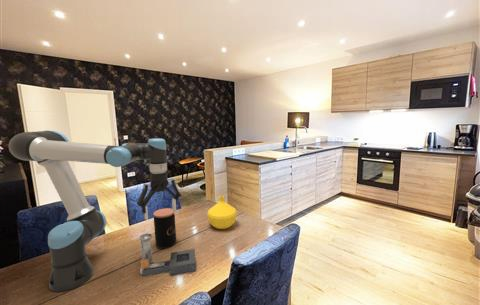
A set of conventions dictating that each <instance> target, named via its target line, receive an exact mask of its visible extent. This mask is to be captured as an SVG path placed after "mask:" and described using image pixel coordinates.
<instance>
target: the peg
mask: <svg viewBox="0 0 480 305" xmlns="http://www.w3.org/2000/svg"><path fill="white" fill-rule="evenodd" d="M151 239H152V234H151V233H149V232H148V233H143V234H141V235H140V236H139V241H140V244H141V253H142V254H141V255H142V259H148V258H149V262H150V264H151V263H154V261H153V254H152V253H153V252H152V243H151Z"/></svg>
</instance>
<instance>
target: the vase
mask: <svg viewBox="0 0 480 305" xmlns="http://www.w3.org/2000/svg"><path fill="white" fill-rule="evenodd" d="M218 200H219V201H218V202H217V203H216V204H215V205H213V206H212V207H210V208H209V209H208V211H207V219H208V221H209V223H210V225H211V226H213V227H214V228H216V229H218V230H226V229H229V228H230V227H232V226H233V225H234V224H235V221H236V219H237V217H238V212H237V209H236V208H235V207H234V206H232V205H230V204H229V203H228V202H226V201H225V196H224V195H219V199H218Z"/></svg>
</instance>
